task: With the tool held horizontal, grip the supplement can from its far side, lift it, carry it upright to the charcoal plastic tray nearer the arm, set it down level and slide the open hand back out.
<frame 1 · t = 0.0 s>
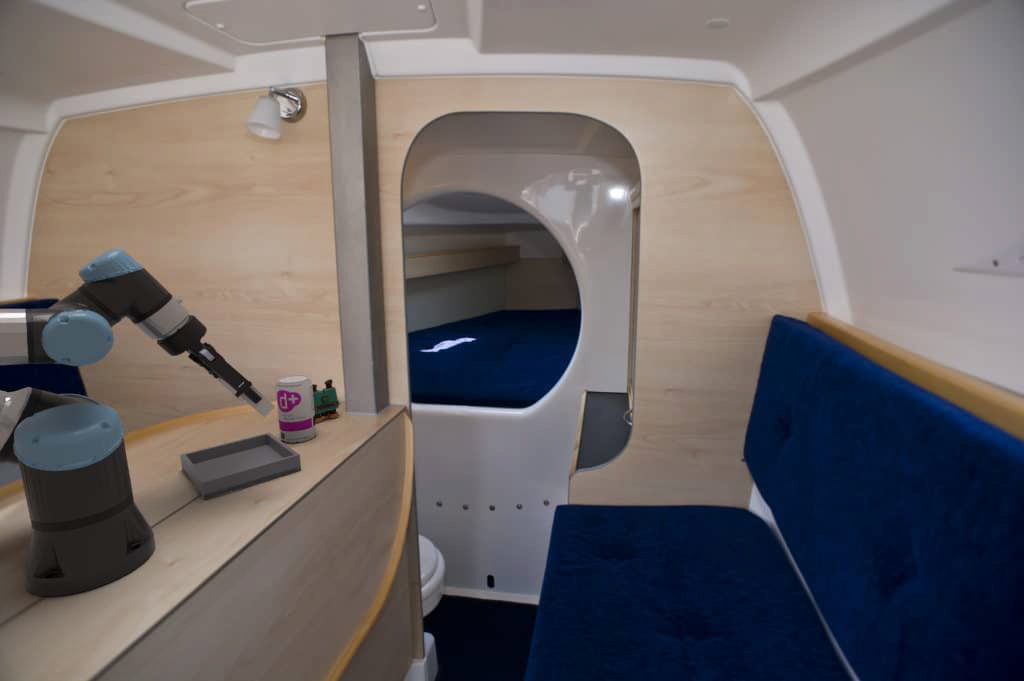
hand: (257, 403, 103), 15 cm above the table, tool tilted 35°, fingers open, 13 cm apart
tray: (241, 470, 108), on the table
binoculars: (319, 418, 141), on the table
supplement can: (299, 438, 126), on the table
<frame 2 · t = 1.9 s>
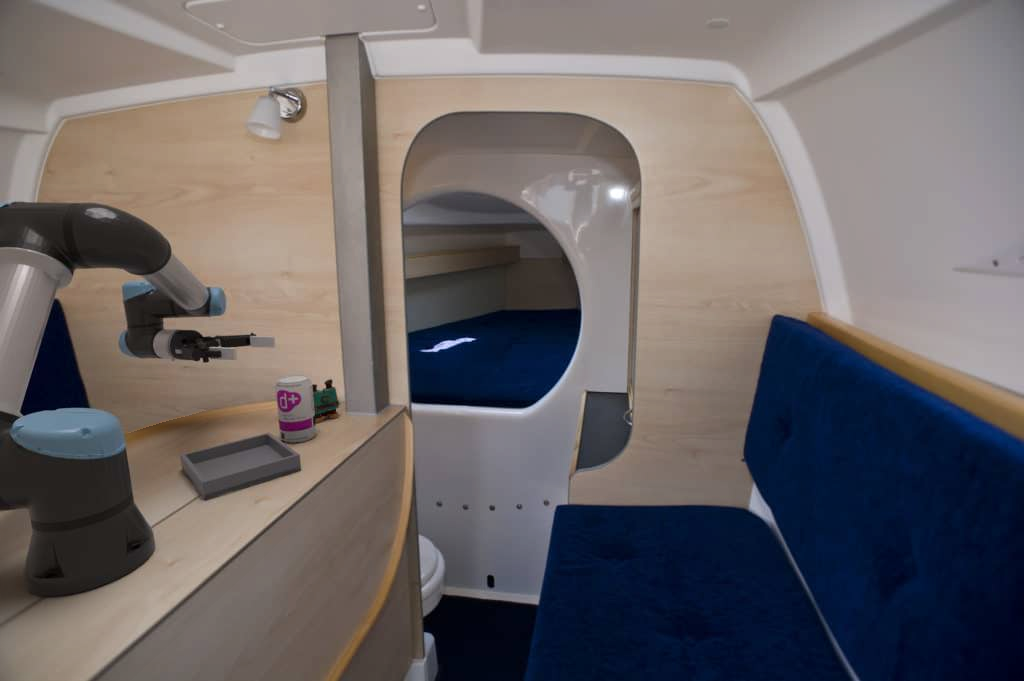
hand: (255, 347, 124), 22 cm above the table, tool horizontal, fingers open, 13 cm apart
nothing on the table moved.
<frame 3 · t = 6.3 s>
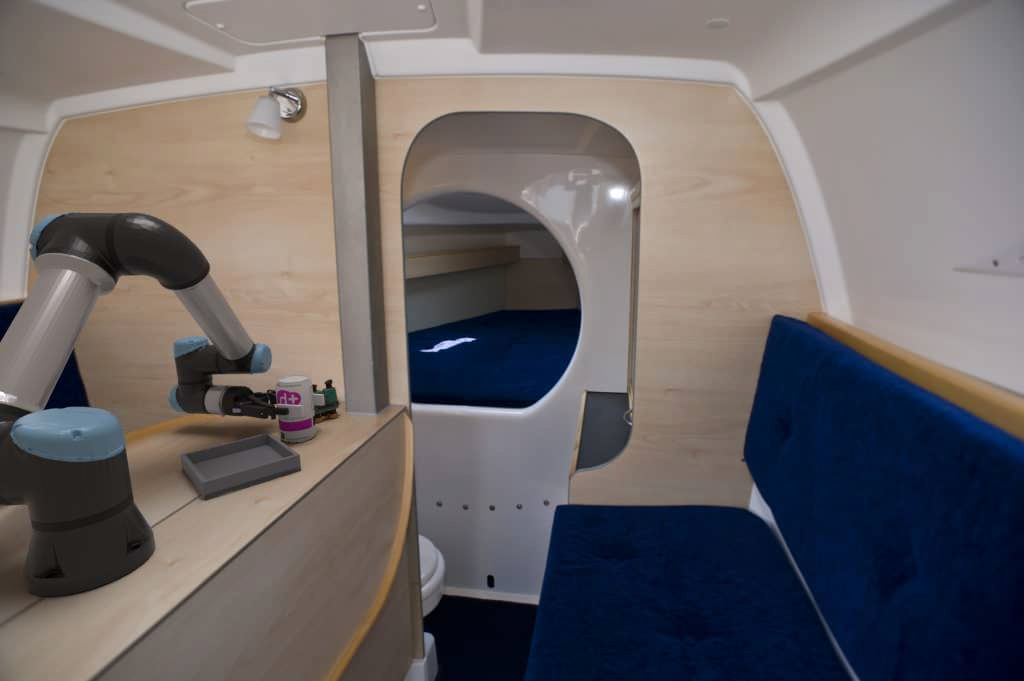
hand: (313, 405, 124), 9 cm above the table, tool horizontal, fingers closed on supplement can, 8 cm apart
supplement can: (298, 438, 126), on the table, touching gripper
everything else where it was.
when the fingers open (11 cm above the table, at t = 11.9 s): supplement can drops 1 cm, resting on tray.
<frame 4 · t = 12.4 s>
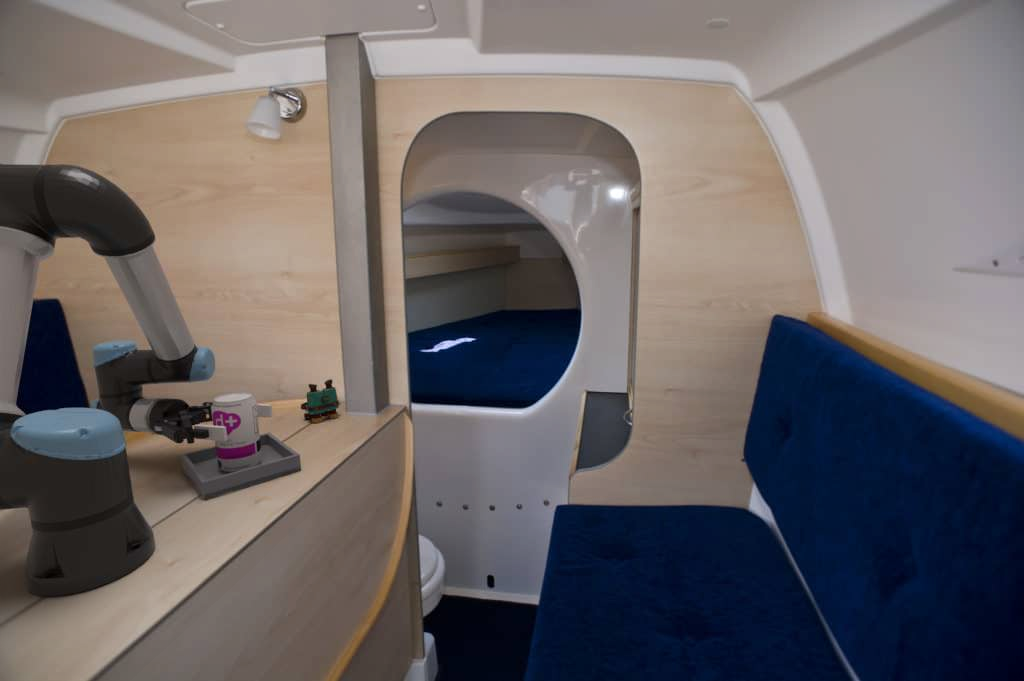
hand: (249, 421, 105), 11 cm above the table, tool horizontal, fingers open, 13 cm apart
supplement can: (240, 466, 108), point 1 cm above the table, touching tray
everything else where it was.
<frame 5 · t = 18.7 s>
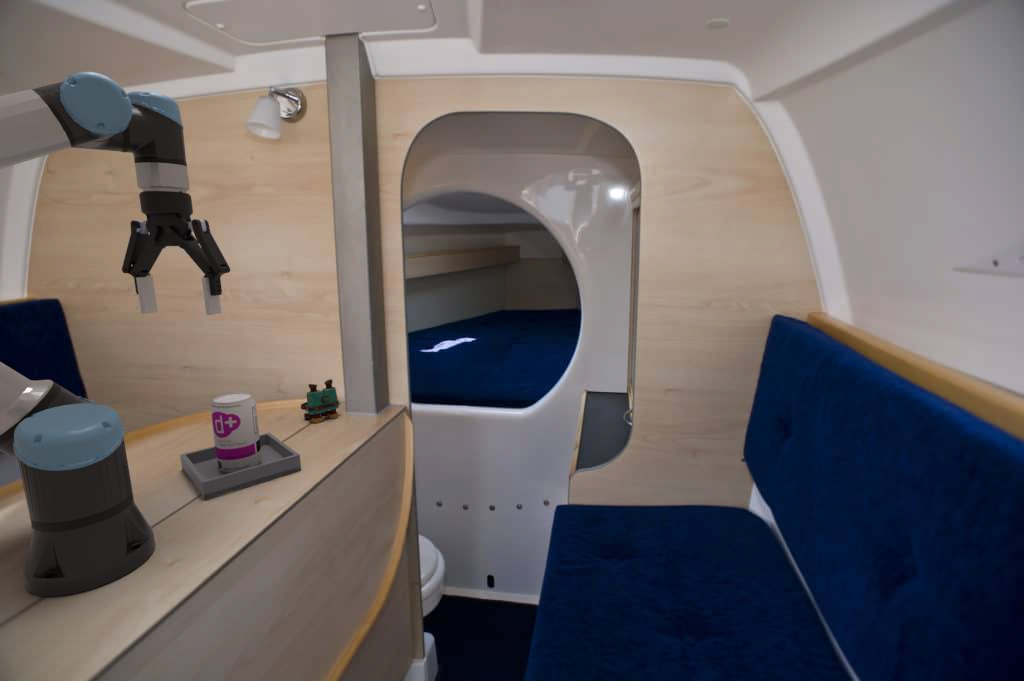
hand: (181, 313, 93), 35 cm above the table, tool pointing down, fingers open, 13 cm apart
nothing on the table moved.
at the end: supplement can inside the target area on the tray (0.1 cm from its centre), point 0.8 cm above the tray's base; supplement can tilted 0°; the gripper is holding nothing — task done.
